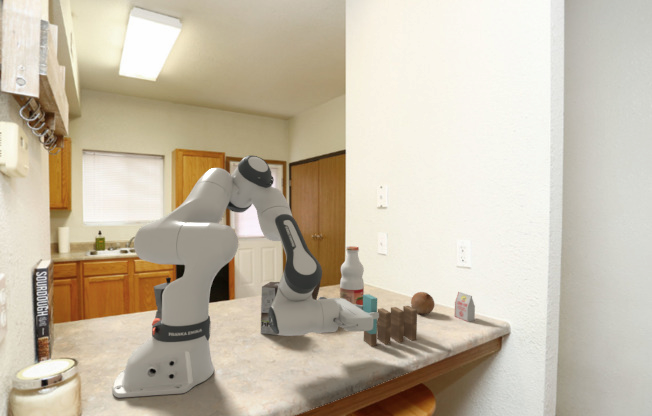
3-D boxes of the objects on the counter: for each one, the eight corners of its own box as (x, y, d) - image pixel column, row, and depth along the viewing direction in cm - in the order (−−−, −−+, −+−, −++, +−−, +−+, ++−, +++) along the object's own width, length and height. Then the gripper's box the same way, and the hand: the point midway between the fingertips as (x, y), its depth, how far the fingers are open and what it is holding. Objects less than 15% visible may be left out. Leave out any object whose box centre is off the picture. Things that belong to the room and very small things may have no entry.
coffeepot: (157, 323, 122) (158, 274, 122) (185, 321, 124) (186, 273, 124) (145, 339, 107) (146, 283, 107) (177, 337, 109) (178, 282, 109)
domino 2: (385, 344, 107) (385, 313, 107) (377, 338, 111) (377, 308, 111) (390, 343, 107) (390, 312, 107) (382, 338, 112) (382, 308, 112)
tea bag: (461, 315, 138) (462, 291, 138) (474, 320, 131) (475, 295, 131) (454, 316, 136) (455, 292, 136) (467, 322, 130) (467, 296, 130)
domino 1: (371, 346, 105) (371, 314, 105) (363, 340, 109) (364, 310, 109) (376, 345, 105) (377, 314, 105) (369, 339, 110) (369, 309, 110)
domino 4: (411, 340, 110) (412, 310, 110) (402, 335, 115) (403, 306, 115) (416, 340, 111) (417, 309, 111) (407, 334, 115) (408, 305, 115)
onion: (430, 323, 137) (438, 304, 133) (407, 315, 138) (415, 296, 134) (429, 308, 145) (437, 290, 141) (408, 301, 147) (415, 283, 143)
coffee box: (277, 335, 112) (278, 287, 112) (259, 333, 114) (260, 286, 114) (286, 326, 121) (287, 281, 121) (269, 324, 123) (270, 280, 123)
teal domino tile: (370, 334, 94) (371, 298, 95) (362, 328, 99) (363, 294, 99) (376, 333, 95) (377, 298, 95) (368, 327, 100) (369, 294, 100)
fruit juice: (340, 313, 138) (341, 245, 138) (362, 314, 137) (364, 246, 137) (338, 320, 128) (340, 248, 128) (363, 322, 127) (364, 248, 127)
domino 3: (398, 342, 108) (399, 311, 108) (390, 337, 113) (390, 307, 113) (403, 341, 109) (404, 311, 109) (395, 336, 114) (395, 307, 114)
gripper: (342, 314, 83) (391, 310, 88) (316, 295, 102) (357, 292, 107) (342, 340, 83) (390, 334, 88) (316, 316, 102) (357, 312, 107)
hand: (372, 311), depth 98 cm, fingers closed on teal domino tile, 5 cm apart
